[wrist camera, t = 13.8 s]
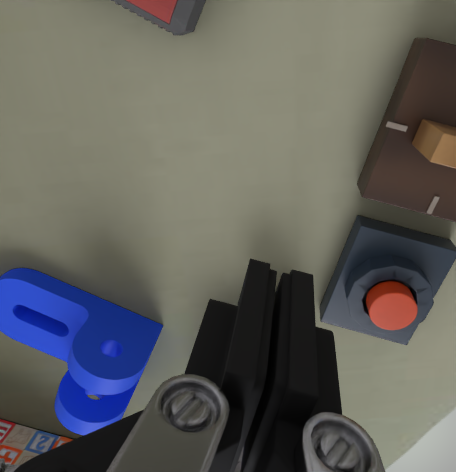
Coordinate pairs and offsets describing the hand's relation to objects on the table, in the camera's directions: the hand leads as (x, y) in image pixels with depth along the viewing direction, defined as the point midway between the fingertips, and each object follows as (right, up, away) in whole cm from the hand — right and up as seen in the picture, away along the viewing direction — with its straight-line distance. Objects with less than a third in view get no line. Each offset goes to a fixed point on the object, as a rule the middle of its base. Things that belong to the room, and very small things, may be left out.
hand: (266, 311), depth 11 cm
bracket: (-18, -7, +34) cm, 39 cm away
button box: (+13, -2, +26) cm, 29 cm away
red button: (+12, -3, +22) cm, 26 cm away
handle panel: (+15, +10, +20) cm, 27 cm away
